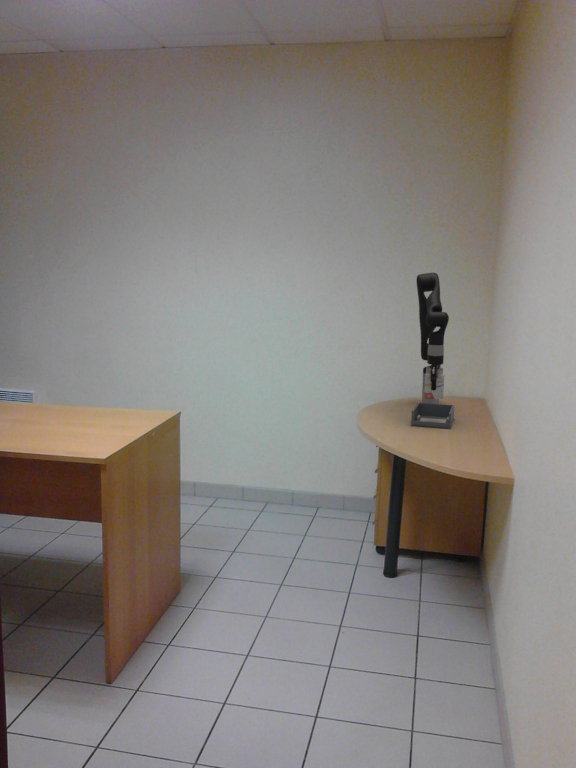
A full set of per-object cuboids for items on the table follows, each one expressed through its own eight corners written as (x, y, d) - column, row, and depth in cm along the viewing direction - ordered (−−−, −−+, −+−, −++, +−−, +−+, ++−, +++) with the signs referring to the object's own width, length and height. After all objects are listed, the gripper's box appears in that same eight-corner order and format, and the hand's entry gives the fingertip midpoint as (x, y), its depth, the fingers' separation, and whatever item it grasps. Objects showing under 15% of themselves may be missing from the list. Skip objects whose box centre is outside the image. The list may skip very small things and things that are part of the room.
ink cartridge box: (425, 399, 310) (426, 368, 307) (424, 397, 315) (425, 367, 312) (443, 399, 309) (444, 368, 307) (442, 397, 314) (443, 367, 311)
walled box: (417, 416, 327) (417, 402, 326) (453, 418, 321) (454, 405, 320) (411, 426, 306) (411, 411, 305) (450, 428, 301) (450, 414, 300)
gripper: (429, 352, 316) (427, 386, 319) (425, 355, 303) (424, 391, 306) (445, 352, 314) (443, 387, 317) (442, 356, 300) (440, 392, 303)
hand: (434, 388), depth 311 cm, fingers closed on ink cartridge box, 5 cm apart
